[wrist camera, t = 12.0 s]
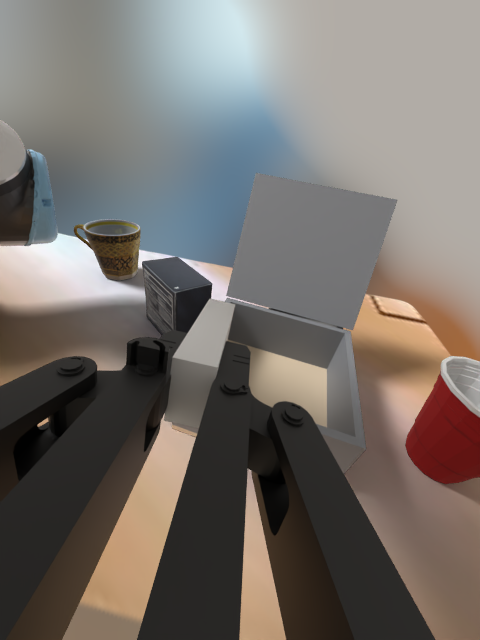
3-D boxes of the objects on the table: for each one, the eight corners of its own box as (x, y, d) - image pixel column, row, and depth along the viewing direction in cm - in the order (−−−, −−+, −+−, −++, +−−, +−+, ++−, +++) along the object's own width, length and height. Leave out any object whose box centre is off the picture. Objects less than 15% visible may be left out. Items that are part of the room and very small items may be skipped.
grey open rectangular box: (172, 428, 28) (170, 382, 23) (222, 338, 42) (227, 297, 37) (332, 487, 25) (366, 449, 21) (330, 370, 39) (350, 331, 34)
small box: (210, 338, 41) (215, 282, 35) (175, 353, 38) (173, 293, 31) (179, 306, 47) (178, 254, 41) (145, 316, 43) (139, 260, 37)
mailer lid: (256, 172, 34) (256, 176, 35) (226, 295, 37) (227, 295, 38) (397, 199, 31) (394, 202, 32) (352, 330, 34) (351, 328, 35)
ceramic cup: (151, 267, 58) (147, 223, 52) (133, 287, 50) (126, 238, 44) (96, 258, 58) (86, 214, 52) (69, 278, 50) (54, 227, 44)
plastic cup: (508, 492, 27) (621, 435, 20) (444, 529, 24) (555, 476, 17) (423, 408, 35) (483, 346, 28) (365, 426, 32) (418, 360, 25)
